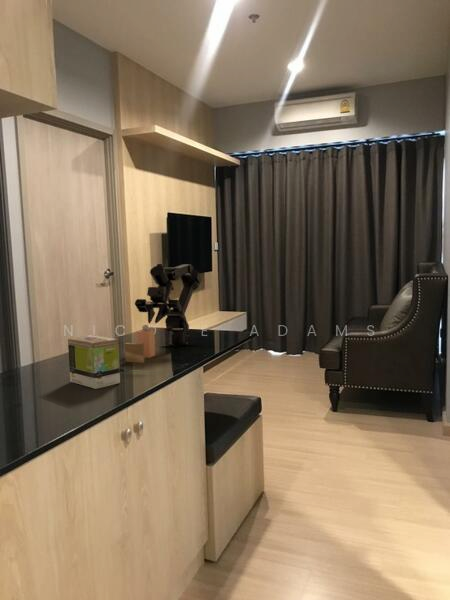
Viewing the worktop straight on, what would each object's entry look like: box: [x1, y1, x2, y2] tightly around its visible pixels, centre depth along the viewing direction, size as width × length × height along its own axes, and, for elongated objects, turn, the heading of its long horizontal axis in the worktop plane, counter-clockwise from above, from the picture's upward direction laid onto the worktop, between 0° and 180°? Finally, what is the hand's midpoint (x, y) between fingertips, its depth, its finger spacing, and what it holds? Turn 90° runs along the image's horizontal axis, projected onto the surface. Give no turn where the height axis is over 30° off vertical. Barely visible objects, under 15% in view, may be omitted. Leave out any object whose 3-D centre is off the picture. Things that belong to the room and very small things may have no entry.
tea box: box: [67, 334, 121, 390], centre depth 168 cm, size 15×10×15 cm
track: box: [124, 342, 146, 364], centre depth 198 cm, size 17×7×8 cm, turn 161°
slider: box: [136, 324, 156, 359], centre depth 199 cm, size 4×5×12 cm
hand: (152, 322), depth 204 cm, fingers open, 3 cm apart
